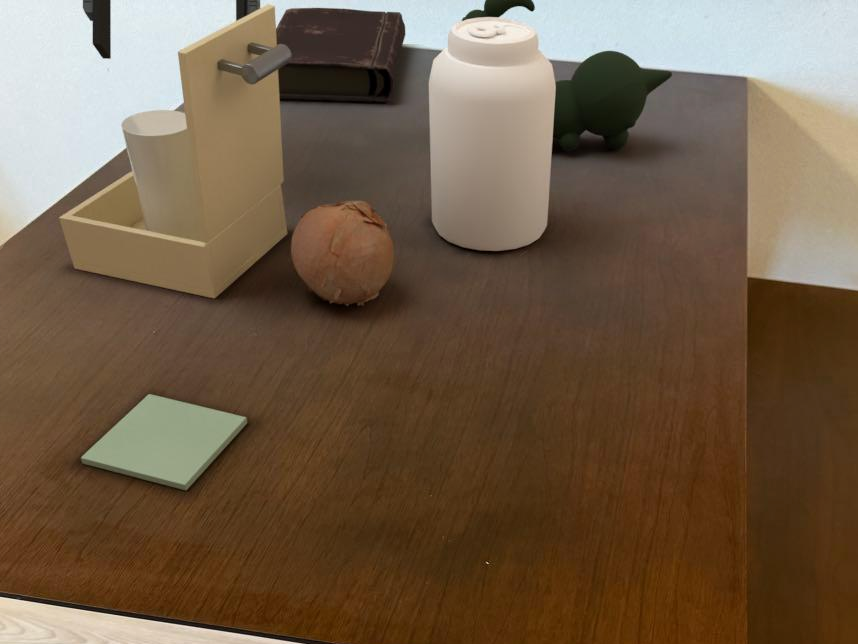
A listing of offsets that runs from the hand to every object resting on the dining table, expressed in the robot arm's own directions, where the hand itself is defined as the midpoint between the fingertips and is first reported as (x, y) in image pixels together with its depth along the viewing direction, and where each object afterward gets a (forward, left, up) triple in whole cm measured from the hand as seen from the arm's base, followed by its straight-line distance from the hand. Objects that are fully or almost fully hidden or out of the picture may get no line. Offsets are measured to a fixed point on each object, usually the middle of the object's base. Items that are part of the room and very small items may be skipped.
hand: (172, 53), depth 94 cm
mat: (+19, -37, -16) cm, 45 cm away
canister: (+3, -9, -15) cm, 18 cm away
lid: (+12, -9, -2) cm, 15 cm away
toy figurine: (+31, +33, -16) cm, 48 cm away
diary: (-6, +46, -16) cm, 49 cm away
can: (+30, +8, -16) cm, 35 cm away
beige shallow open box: (+3, -9, -16) cm, 19 cm away
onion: (+22, -11, -16) cm, 30 cm away
